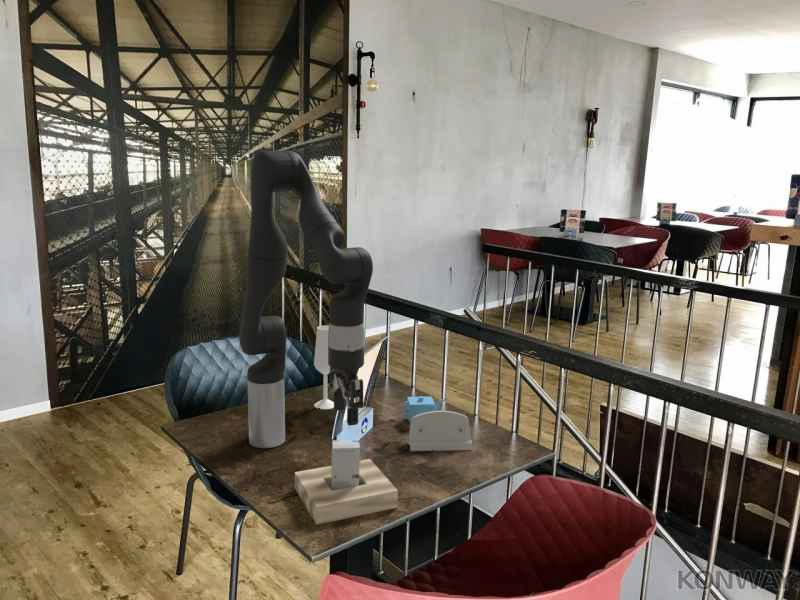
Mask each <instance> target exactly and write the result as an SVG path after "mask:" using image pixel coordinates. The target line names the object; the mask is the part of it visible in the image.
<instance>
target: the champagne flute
mask: <svg viewBox="0 0 800 600" xmlns="http://www.w3.org/2000/svg"><path fill="white" fill-rule="evenodd" d="M328 331H329V325H319V326H317V328H316V336H315V337H316V338H315V347H314V348H315V349H314V350H315V351H314V357H313V358H314V359H313V365H314V367H315V369H316V370H317V371H318V372H319V373H320V374H322V375H323V379H322V381H323V389H322V390H323V391H322V392H323V394H322V395H323V396H322V397H323V398H322V399H321V400H318V401H317V402H316V403H314V404H313V406H314V407H315V408H316V409H319V408H320V410H332V409H334V401H332V400H330V399H329V398H328V375H330V366H329V365H328Z"/></svg>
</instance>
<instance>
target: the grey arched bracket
mask: <svg viewBox="0 0 800 600" xmlns="http://www.w3.org/2000/svg"><path fill="white" fill-rule="evenodd" d="M472 441H473V440H472V434H471V427H470V420H469V418H468V416H466V415H465V414H463V413H459V412H454V411H452V410H451V411H450V410H438V411H429V412H424V413H420V414H418V415H415V416H413V417H412V418H411V421H410V423H409V432H408V440H407V444H408V445H409V449H410V452H426V451H427V452H428V451H429V452H431V451H432V450H433V451H434V452H435V451H438V452H439V451H442V452H443V451H473V442H472ZM433 451H432V452H433Z"/></svg>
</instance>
